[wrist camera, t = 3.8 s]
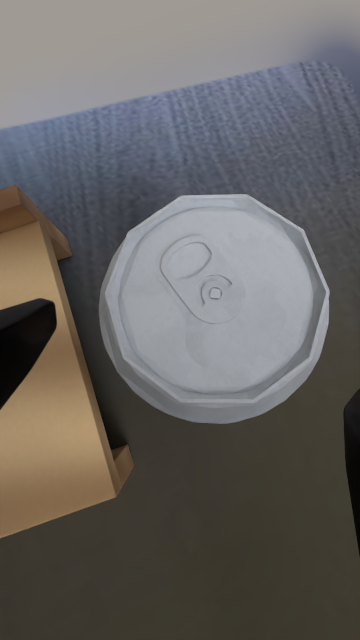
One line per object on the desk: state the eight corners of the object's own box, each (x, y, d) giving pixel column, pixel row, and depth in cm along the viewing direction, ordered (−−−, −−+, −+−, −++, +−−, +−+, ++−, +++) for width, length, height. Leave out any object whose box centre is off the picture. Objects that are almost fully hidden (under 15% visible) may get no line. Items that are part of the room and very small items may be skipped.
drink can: (189, 406, 17) (184, 497, 5) (141, 336, 17) (32, 266, 5) (258, 355, 17) (414, 321, 5) (207, 289, 18) (240, 126, 6)
